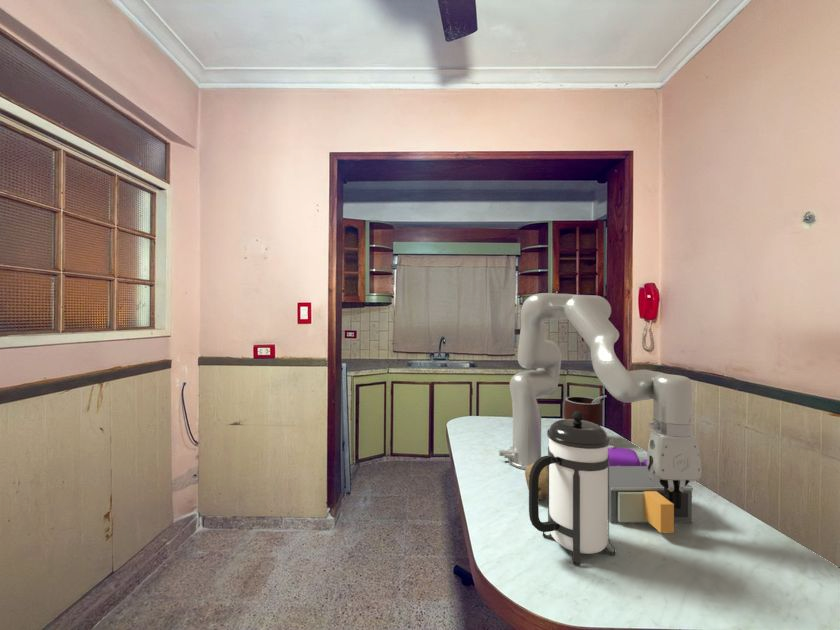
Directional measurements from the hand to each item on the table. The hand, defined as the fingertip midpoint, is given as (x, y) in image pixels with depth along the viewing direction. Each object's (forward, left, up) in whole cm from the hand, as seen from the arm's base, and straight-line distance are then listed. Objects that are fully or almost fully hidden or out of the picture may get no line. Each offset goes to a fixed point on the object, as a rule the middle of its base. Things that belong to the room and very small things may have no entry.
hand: (672, 505), depth 84 cm
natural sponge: (-25, +16, -7) cm, 31 cm away
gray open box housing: (-3, +10, -7) cm, 12 cm away
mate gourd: (+7, +59, -7) cm, 60 cm away
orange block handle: (-6, 0, -6) cm, 8 cm away
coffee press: (-25, -5, -7) cm, 27 cm away
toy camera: (+4, +25, -7) cm, 26 cm away
